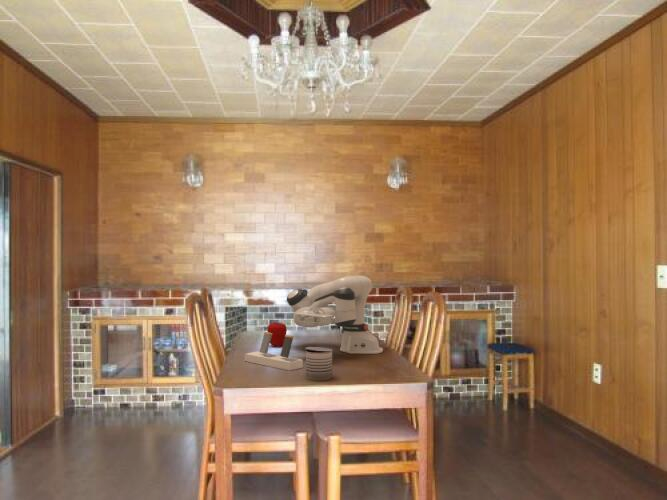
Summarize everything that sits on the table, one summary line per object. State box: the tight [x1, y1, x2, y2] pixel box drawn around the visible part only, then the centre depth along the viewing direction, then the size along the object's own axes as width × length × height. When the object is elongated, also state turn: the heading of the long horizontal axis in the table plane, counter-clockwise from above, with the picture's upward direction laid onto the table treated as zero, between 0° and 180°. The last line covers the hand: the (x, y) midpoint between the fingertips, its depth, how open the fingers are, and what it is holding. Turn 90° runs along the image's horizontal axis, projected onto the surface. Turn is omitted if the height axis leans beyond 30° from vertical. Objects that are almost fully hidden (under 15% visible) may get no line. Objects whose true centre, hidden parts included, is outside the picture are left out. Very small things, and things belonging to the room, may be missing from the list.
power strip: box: [244, 350, 304, 372], centre depth 241 cm, size 8×30×4 cm, turn 50°
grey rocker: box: [258, 331, 272, 354], centre depth 247 cm, size 2×4×10 cm, turn 50°
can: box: [305, 346, 333, 381], centre depth 218 cm, size 11×11×12 cm
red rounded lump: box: [266, 321, 288, 347], centre depth 288 cm, size 10×10×14 cm
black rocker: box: [280, 334, 294, 358], centre depth 238 cm, size 2×4×10 cm, turn 50°
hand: (302, 319), depth 246 cm, fingers open, 2 cm apart
